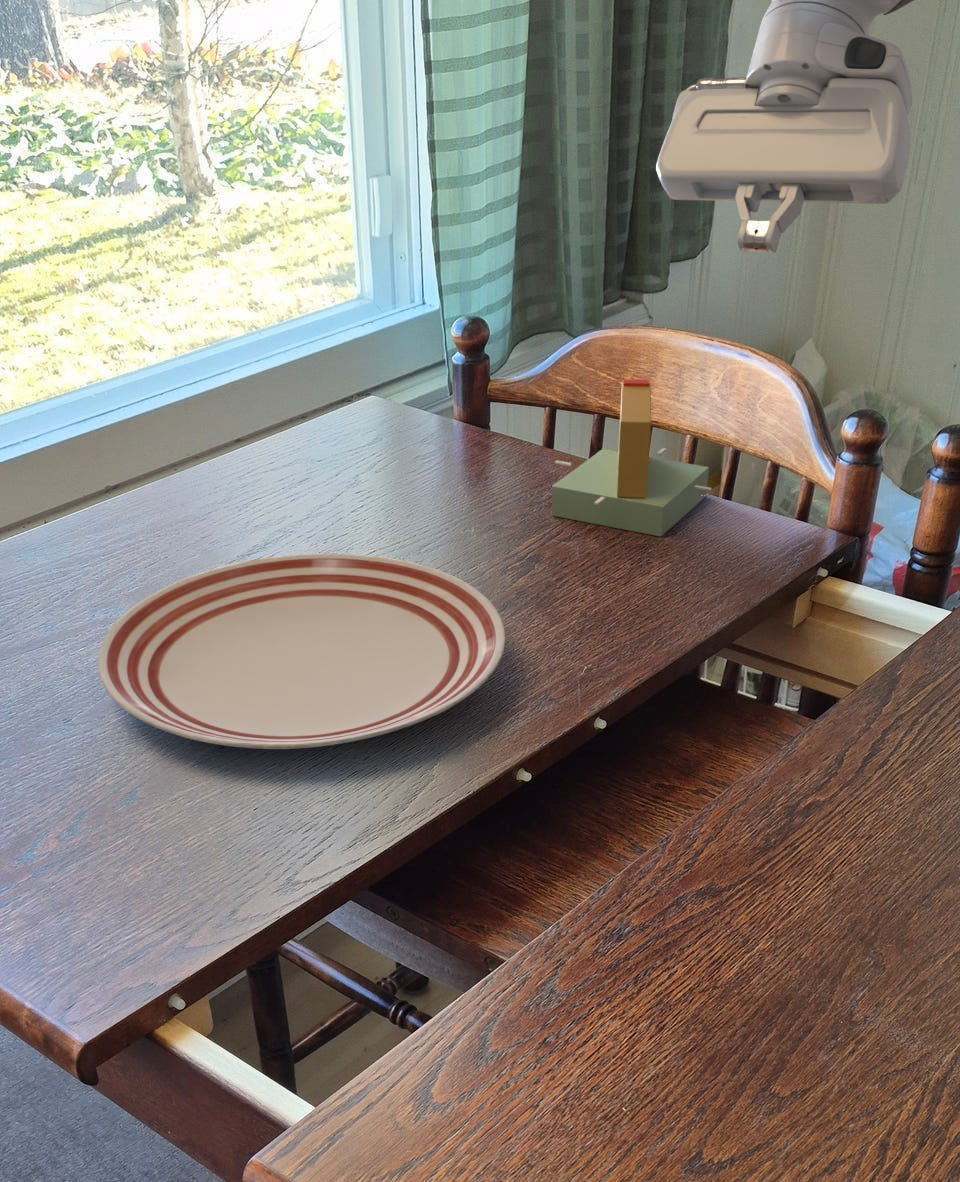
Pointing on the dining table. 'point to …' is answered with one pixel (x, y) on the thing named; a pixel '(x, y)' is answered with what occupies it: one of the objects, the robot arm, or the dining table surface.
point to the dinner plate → (301, 650)
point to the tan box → (634, 438)
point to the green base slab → (596, 497)
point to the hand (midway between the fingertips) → (755, 248)
